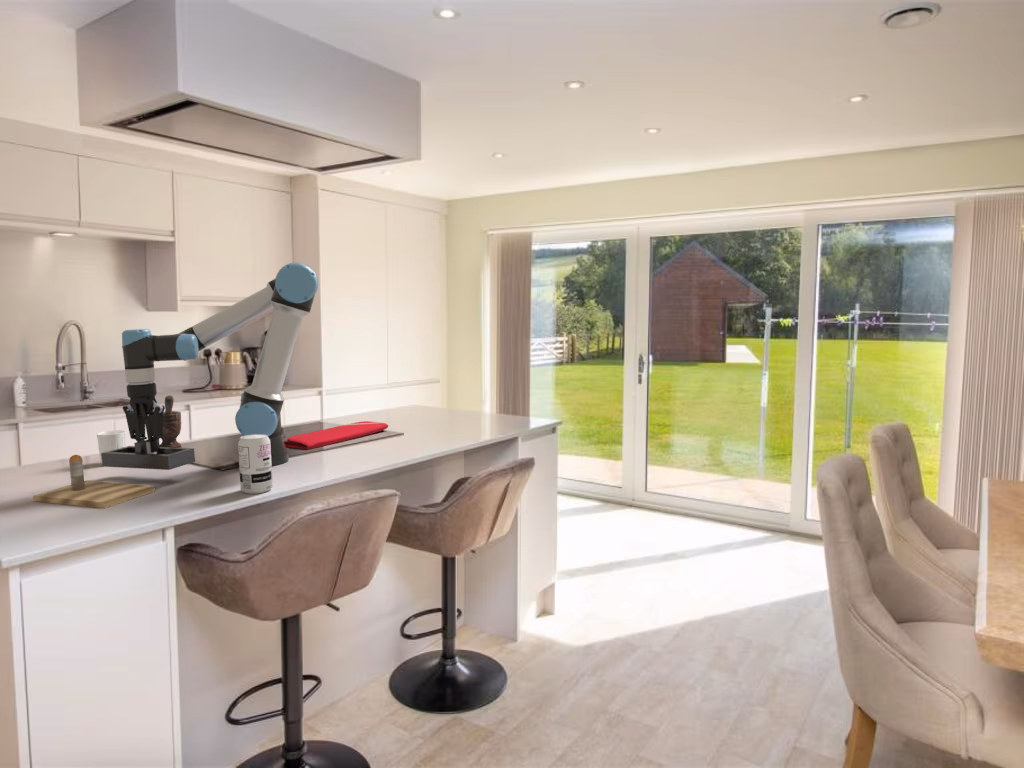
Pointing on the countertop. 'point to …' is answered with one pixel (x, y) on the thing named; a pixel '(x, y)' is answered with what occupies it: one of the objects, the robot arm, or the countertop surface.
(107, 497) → the board
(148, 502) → the countertop surface
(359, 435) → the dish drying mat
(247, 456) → the supplement can
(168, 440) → the mortar and pestle
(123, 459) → the dark grey tray
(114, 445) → the white cup
